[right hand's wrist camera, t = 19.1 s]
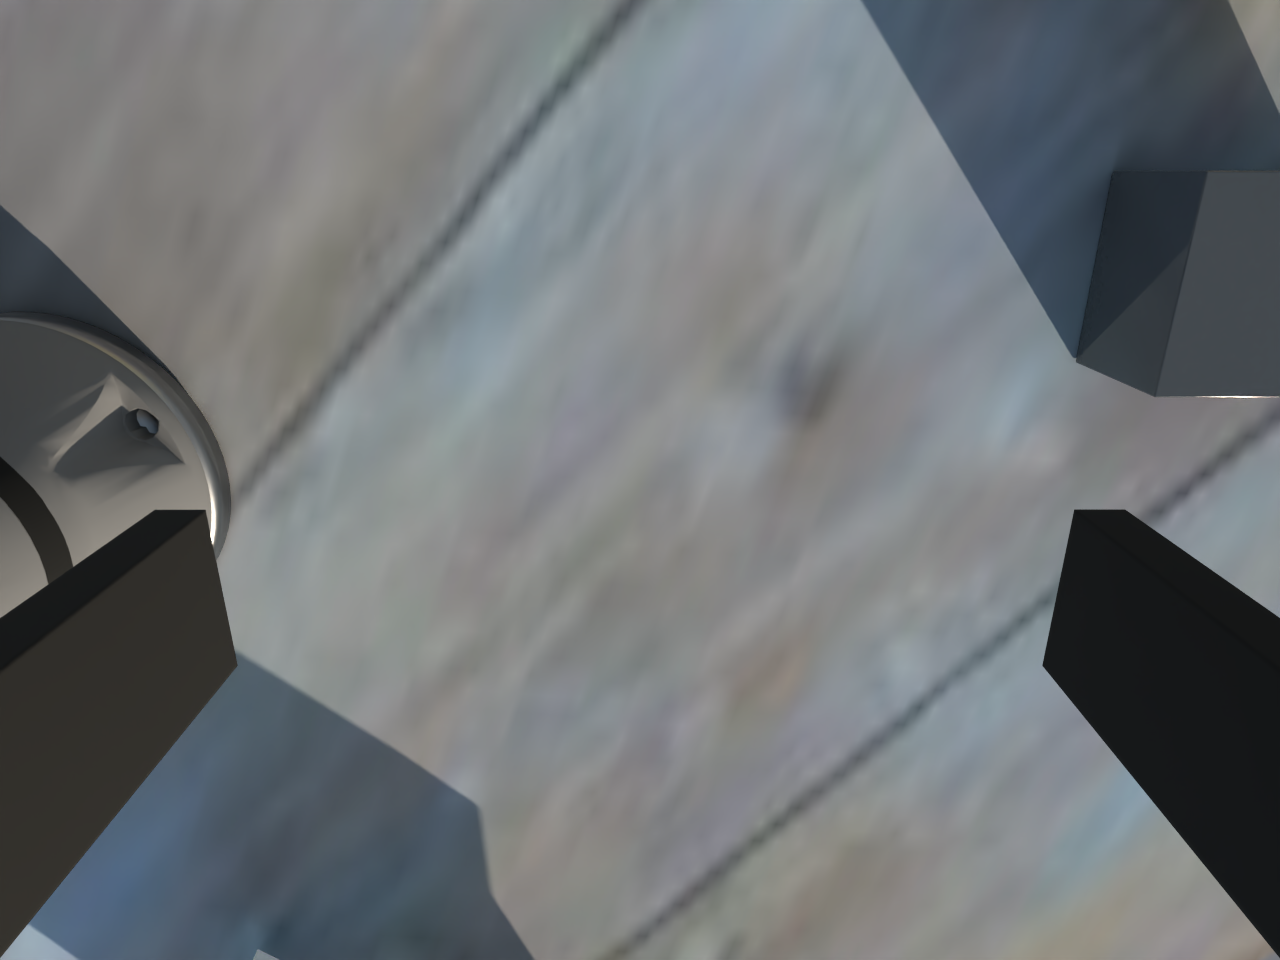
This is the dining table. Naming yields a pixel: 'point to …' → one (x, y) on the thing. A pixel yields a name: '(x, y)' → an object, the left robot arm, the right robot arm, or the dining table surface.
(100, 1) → the dining table surface
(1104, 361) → the slate block
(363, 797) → the dining table surface
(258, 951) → the white plastic object
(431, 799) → the dining table surface
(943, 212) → the dining table surface
